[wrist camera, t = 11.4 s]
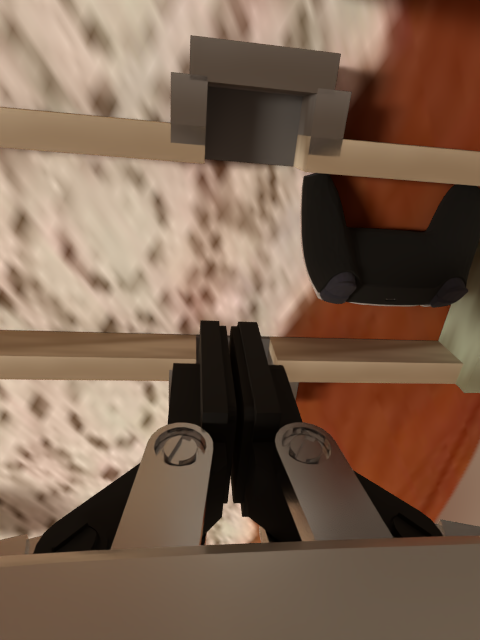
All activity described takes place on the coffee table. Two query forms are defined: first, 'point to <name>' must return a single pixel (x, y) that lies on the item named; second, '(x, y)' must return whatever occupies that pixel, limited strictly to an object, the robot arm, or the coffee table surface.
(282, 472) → the robot arm
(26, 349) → the channel
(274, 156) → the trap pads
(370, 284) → the gaming controller
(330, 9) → the coffee table surface
